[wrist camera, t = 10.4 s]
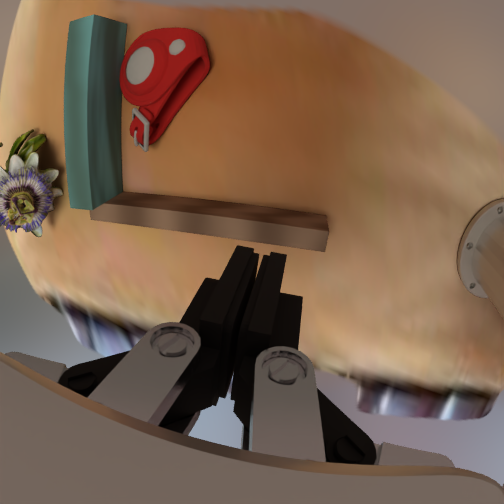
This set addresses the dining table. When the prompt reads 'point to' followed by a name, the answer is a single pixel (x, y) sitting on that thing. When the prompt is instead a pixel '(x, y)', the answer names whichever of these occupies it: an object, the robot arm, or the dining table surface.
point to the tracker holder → (161, 78)
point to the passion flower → (26, 187)
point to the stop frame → (110, 164)
